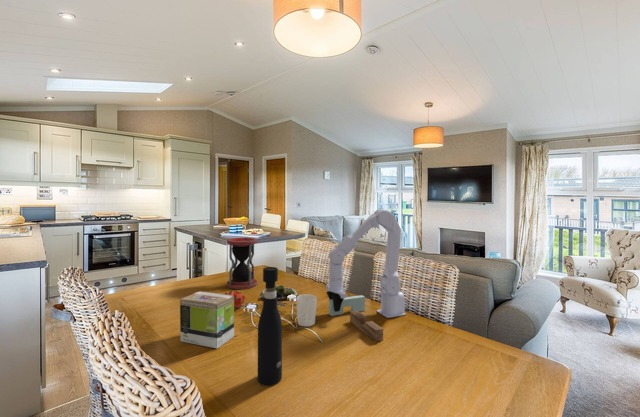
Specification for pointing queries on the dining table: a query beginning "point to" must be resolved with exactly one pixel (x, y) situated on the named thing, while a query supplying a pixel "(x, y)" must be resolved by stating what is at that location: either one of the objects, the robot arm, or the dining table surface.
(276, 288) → the salad plate
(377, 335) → the walnut rail
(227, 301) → the tea box
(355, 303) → the pale green flat block
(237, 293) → the dragon fruit
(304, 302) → the white cup
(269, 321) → the black water bottle
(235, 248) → the hourglass
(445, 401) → the dining table surface
